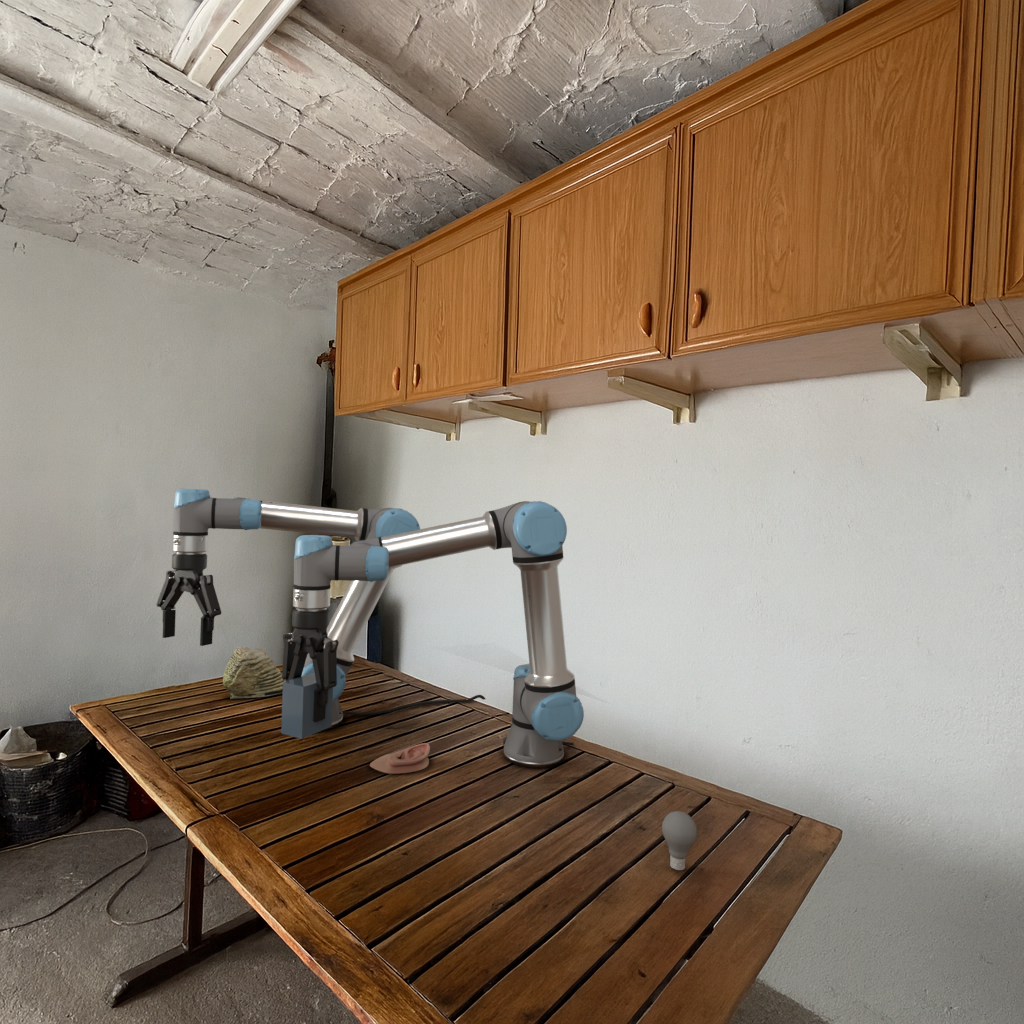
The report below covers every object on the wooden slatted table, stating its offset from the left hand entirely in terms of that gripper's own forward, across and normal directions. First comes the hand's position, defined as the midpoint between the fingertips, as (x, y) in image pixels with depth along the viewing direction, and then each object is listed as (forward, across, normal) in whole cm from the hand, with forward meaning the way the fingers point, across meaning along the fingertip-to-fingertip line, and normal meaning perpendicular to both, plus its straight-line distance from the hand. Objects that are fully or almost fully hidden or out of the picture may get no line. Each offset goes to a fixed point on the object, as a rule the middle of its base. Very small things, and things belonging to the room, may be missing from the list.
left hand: (187, 640), depth 153 cm
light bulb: (+27, +116, +13) cm, 119 cm away
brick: (+13, +40, -1) cm, 42 cm away
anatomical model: (+27, +48, +22) cm, 59 cm away
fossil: (+27, -21, +40) cm, 53 cm away
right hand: (+10, +40, -1) cm, 41 cm away
